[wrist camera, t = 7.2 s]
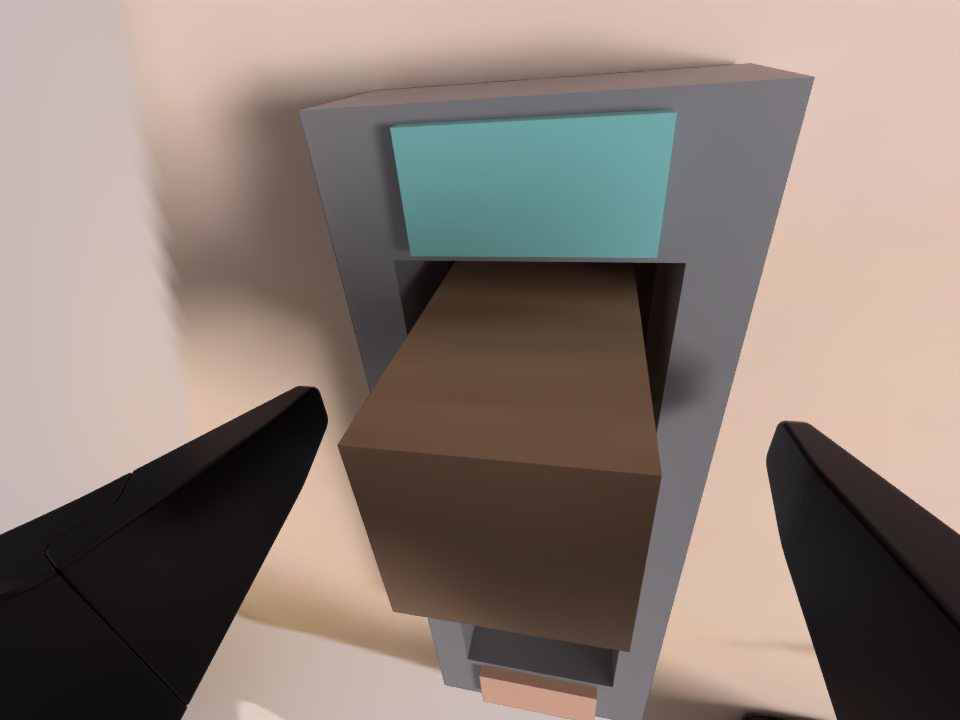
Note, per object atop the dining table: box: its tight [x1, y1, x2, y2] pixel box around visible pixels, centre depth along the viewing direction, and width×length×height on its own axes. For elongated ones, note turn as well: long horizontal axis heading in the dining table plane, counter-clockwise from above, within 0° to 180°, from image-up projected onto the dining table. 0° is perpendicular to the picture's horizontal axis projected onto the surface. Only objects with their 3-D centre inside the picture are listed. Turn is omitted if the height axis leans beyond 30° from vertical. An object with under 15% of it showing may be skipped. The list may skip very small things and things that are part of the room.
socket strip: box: [299, 63, 814, 720], centre depth 15 cm, size 22×8×4 cm, turn 4°
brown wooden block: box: [338, 261, 662, 652], centre depth 10 cm, size 4×4×8 cm
